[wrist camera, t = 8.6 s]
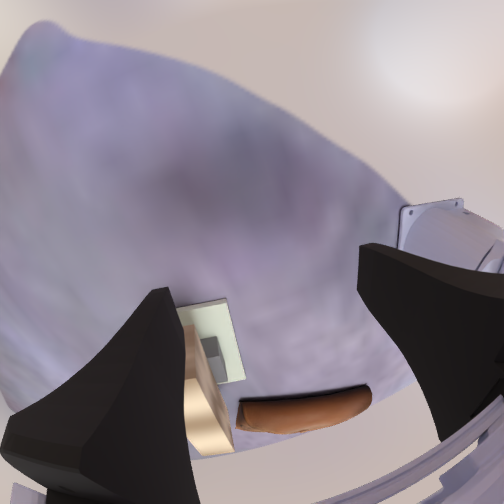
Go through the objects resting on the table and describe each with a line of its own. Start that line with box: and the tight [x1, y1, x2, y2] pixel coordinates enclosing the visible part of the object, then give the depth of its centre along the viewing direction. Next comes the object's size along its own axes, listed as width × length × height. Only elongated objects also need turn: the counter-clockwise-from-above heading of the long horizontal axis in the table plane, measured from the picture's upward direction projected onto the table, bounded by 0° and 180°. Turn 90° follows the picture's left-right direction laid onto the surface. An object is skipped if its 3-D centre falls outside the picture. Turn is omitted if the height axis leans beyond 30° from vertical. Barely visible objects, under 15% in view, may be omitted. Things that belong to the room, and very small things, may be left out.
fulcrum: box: [176, 299, 246, 385], centre depth 22 cm, size 8×10×3 cm
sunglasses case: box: [235, 385, 372, 434], centre depth 30 cm, size 18×7×7 cm, turn 81°
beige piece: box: [183, 324, 235, 456], centre depth 19 cm, size 12×3×5 cm, turn 8°
